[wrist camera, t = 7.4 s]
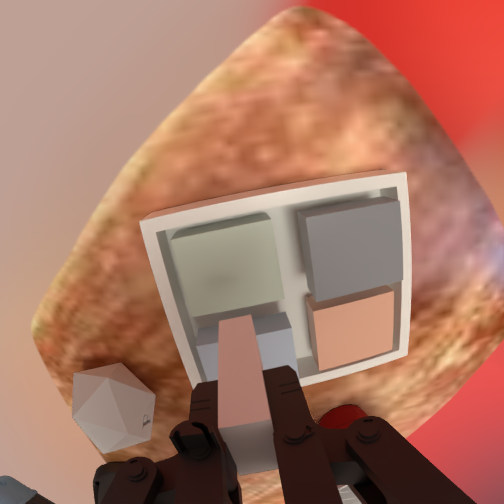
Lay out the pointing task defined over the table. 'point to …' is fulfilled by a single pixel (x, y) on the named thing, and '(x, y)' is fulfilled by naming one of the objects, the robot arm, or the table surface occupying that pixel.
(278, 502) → the table surface
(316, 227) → the key charcoal
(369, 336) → the key terracotta
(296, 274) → the keypad
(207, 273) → the key sage
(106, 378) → the die
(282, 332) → the key slate
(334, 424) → the plastic cup
